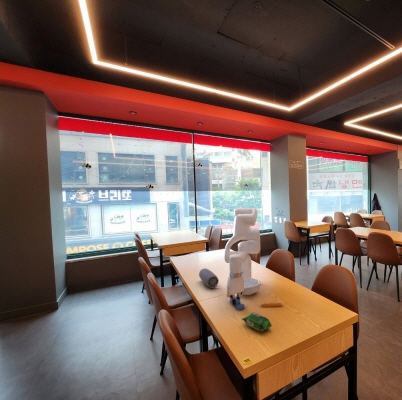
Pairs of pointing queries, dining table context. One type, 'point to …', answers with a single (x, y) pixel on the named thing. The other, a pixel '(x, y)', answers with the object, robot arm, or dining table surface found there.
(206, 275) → the bluetooth speaker
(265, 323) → the snack package
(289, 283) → the dining table surface
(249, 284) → the cereal bowl
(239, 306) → the blue notched block
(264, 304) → the fry
